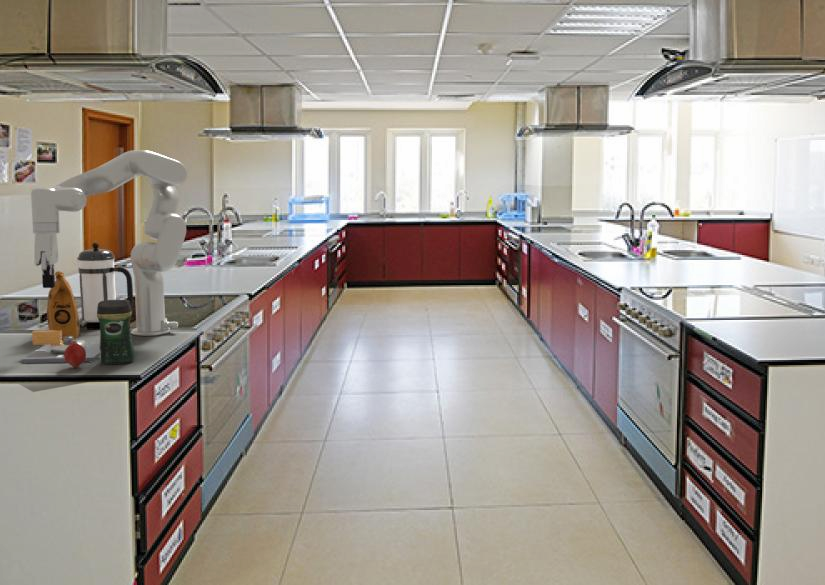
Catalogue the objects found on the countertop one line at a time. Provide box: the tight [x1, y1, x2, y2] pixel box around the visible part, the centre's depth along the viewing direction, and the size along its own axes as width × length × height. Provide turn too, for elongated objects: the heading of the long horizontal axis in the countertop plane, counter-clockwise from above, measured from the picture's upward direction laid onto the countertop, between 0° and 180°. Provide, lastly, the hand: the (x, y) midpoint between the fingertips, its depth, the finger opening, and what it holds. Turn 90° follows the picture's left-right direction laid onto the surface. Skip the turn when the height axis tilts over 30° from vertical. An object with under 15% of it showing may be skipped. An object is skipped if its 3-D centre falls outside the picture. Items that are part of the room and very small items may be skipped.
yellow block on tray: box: [31, 329, 87, 354], centre depth 242 cm, size 15×10×6 cm, turn 96°
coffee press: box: [74, 242, 134, 327], centre depth 291 cm, size 17×16×30 cm
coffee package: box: [46, 270, 81, 339], centre depth 268 cm, size 10×12×22 cm
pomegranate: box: [64, 341, 86, 369], centre depth 227 cm, size 6×6×8 cm
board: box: [22, 342, 100, 364], centre depth 243 cm, size 20×20×2 cm
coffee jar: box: [97, 299, 135, 365], centre depth 233 cm, size 10×8×19 cm
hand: (48, 287), depth 246 cm, fingers closed
